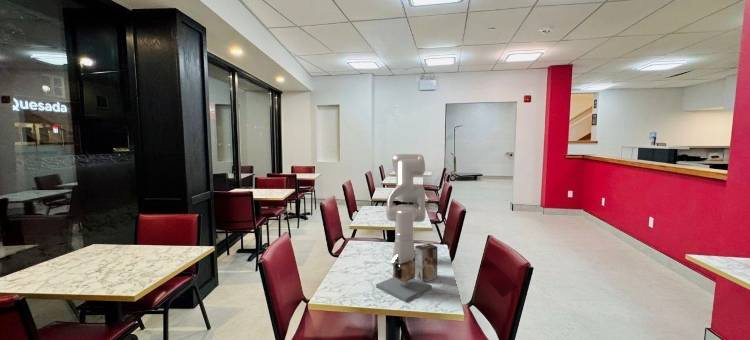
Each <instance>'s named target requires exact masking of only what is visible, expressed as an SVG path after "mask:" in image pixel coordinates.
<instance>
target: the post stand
mask: <svg viewBox="0 0 750 340" xmlns="http://www.w3.org/2000/svg"><path fill="white" fill-rule="evenodd" d="M375 288H377V289H378V290H380V291H382V292H384V293H386V294H388V295H390V296H392V297H394V298H397V299H398V300H400V301H402V302H404V303H406V302H409V301H411V300H412V299H414V298H417V297H419V296H420V295H421V296H422V295H423V294H425V293H427V292H428V291H431V290H432V289H433V285H432V284H430V283H427V282H426V281H425V282H422V281H420V280H418V279H417V278H414V279H411V280H409V281H406V282H403V281H401V280H398V279H396V278H394V277H393V276H392V277H390V278H389V279H388V278H387V279H385V280H383V281H380V282H378V283H376V284H375Z"/></svg>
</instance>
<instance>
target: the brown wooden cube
mask: <svg viewBox="0 0 750 340" xmlns="http://www.w3.org/2000/svg"><path fill="white" fill-rule="evenodd" d="M398 262H399V261H398ZM398 266H399V263H398ZM392 267H393V266H392ZM392 270H393V271H392V273H393V274H392V278H393V277H394V278H396V279H398V280H401V281H403V282H406V281H409V280H411V279H414V278H415V261H414V262H411V261H408V262H405V263H403V264H402V265H401V278H397V277H395V268H394V267H393V269H392ZM415 279H416V278H415Z"/></svg>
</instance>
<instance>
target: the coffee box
mask: <svg viewBox="0 0 750 340" xmlns="http://www.w3.org/2000/svg"><path fill="white" fill-rule="evenodd" d="M414 250H415V253H416V254H417V256H416V258H415V261H414V263H415V279H418V280H420V281H422V282H425V283H426V282H428V281H433V280H437V279H438V246H437V245H434V244H432V243H425V244H419V245H414Z"/></svg>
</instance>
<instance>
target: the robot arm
mask: <svg viewBox="0 0 750 340" xmlns="http://www.w3.org/2000/svg"><path fill="white" fill-rule="evenodd" d="M391 163H392V167H393V168H392V169H393V170H394V173H395V175H396V176H395V177H396V178H395V179H396V180H395V181H396V182H395V185H396V186H395V187H394V188H393V189H392V190H391V191H390V193H389V194H388V196H387V199H386V211H385V212H386V213H385V214H386V215H385V216H386V219H387V220H388V221H389V222H394V224H395V225H394V227H395V228H394V229H395V232H394V233H395V234H394V235H395V236H394V237H395V239H394V242H393V243H394V244H393V250H392V251H393V252H392V260H391V261H390V264H391V265H392V267H394V268H395V277H397V278H401V265H402V264H403V263H405V262H408V261H411V262H414V263H415V258H416V256H417V254H416V253H415V242H414V223H422V222H424V221H425V220H426V191H425V188H424V186H422V185H420V184H419V185H414V176H423V175H424V174H426V173H425V172H426V163H425V157H424V156H423V155H422V154H417V153H411V154H410V153H401V154H394V155H393V156H392V159H391ZM395 199H397V201H399V202H401V204H398V205H397V204H396V205H393V203H394V200H395ZM402 203H416V204H402ZM398 261H399V262H398ZM398 263H399V266H398Z"/></svg>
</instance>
